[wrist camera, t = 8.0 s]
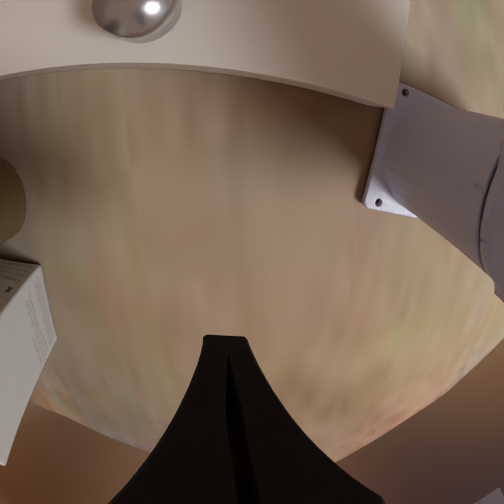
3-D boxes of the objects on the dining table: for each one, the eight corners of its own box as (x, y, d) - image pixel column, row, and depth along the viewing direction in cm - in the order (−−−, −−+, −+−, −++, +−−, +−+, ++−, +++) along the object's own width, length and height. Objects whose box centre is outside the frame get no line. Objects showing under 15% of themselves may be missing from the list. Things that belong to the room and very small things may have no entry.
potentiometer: (188, -18, 9) (182, -38, 7) (174, 44, 11) (165, 33, 8) (119, -16, 9) (102, -34, 7) (105, 44, 10) (84, 36, 8)
